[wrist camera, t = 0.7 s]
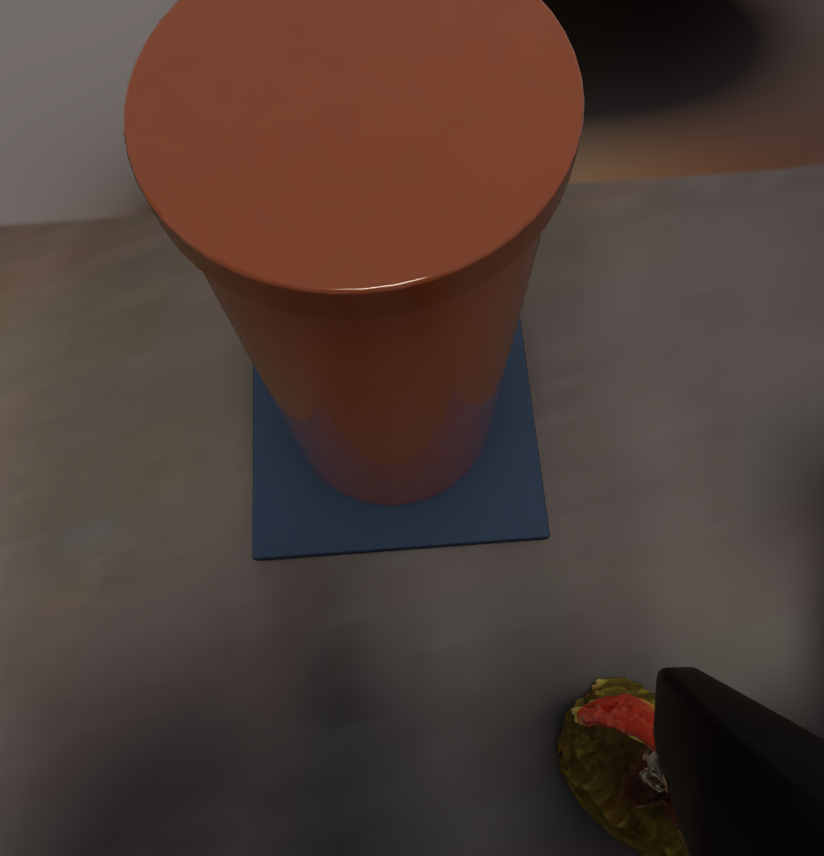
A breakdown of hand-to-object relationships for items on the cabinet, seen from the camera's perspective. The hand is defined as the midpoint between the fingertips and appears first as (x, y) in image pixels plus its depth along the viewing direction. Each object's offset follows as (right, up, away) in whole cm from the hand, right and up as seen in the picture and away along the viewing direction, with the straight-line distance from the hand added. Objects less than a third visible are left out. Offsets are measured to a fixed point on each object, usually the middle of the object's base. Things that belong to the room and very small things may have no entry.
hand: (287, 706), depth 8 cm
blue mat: (+1, +4, +14) cm, 15 cm away
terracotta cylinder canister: (+1, +4, +14) cm, 15 cm away
